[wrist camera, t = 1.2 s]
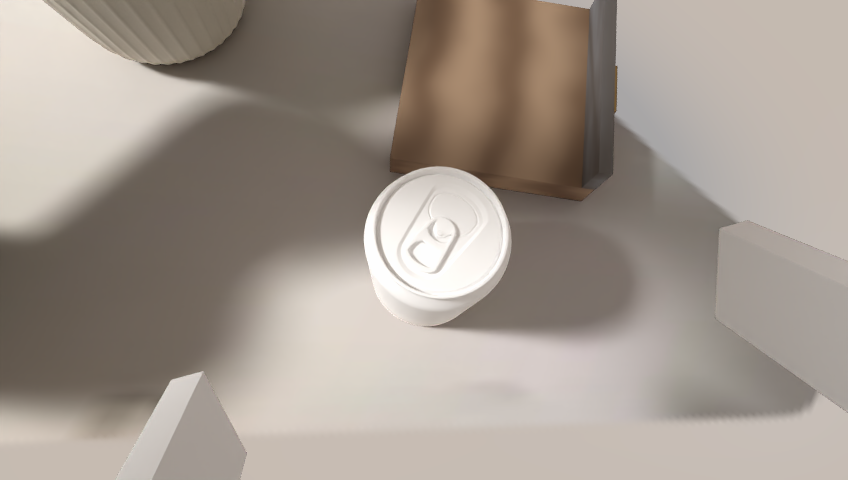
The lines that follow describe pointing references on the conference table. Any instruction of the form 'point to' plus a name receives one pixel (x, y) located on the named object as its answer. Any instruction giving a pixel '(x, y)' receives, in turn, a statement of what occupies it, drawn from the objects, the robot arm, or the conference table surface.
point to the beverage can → (436, 244)
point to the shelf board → (511, 94)
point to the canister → (154, 26)
